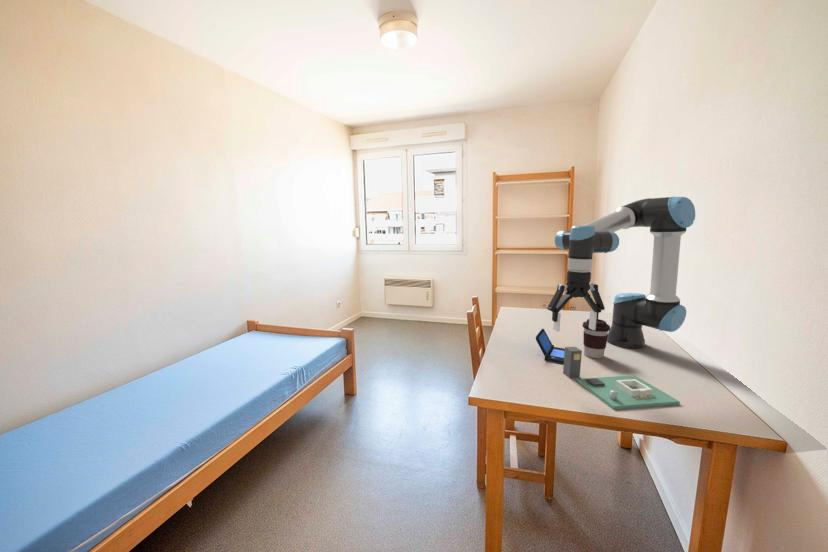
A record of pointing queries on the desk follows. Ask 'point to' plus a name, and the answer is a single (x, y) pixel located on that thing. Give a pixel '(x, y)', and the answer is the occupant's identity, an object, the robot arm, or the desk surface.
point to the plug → (572, 362)
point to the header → (640, 392)
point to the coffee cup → (595, 339)
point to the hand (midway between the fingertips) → (574, 329)
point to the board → (620, 399)
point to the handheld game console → (549, 348)
